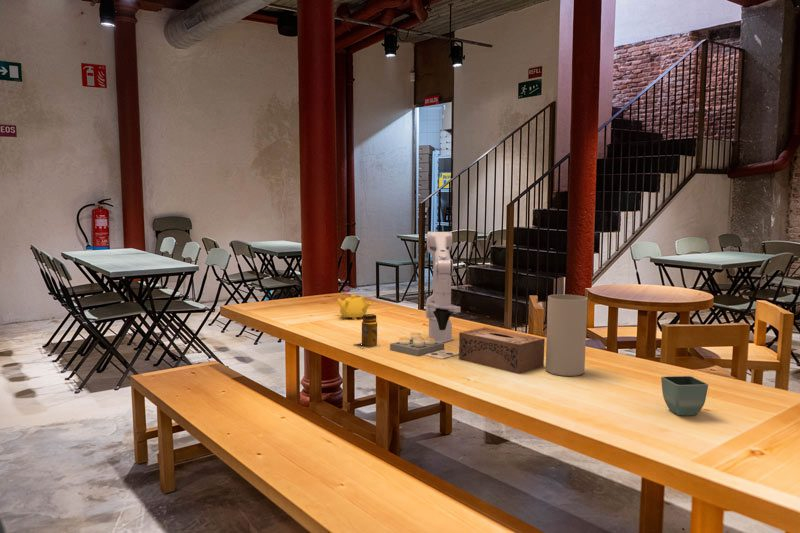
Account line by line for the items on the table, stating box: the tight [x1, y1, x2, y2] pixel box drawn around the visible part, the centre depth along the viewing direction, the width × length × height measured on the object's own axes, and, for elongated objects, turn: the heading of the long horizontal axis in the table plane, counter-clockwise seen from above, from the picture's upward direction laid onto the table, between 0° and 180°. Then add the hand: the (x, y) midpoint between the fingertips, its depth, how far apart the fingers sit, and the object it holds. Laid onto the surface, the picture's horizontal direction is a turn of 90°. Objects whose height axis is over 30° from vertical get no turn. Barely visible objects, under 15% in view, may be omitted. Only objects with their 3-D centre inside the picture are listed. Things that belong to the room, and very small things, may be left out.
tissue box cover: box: [458, 327, 545, 375], centre depth 221 cm, size 26×14×10 cm, turn 44°
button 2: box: [410, 332, 422, 342], centre depth 244 cm, size 4×4×3 cm
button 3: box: [413, 337, 425, 348], centre depth 235 cm, size 4×4×3 cm
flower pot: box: [660, 375, 709, 416], centre depth 169 cm, size 9×9×9 cm
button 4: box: [424, 337, 435, 346], centre depth 239 cm, size 4×4×3 cm
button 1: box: [398, 337, 411, 345], centre depth 239 cm, size 4×4×3 cm
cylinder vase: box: [545, 294, 588, 377], centre depth 209 cm, size 12×12×25 cm
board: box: [389, 338, 445, 357], centre depth 240 cm, size 15×14×2 cm
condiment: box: [353, 313, 382, 349], centre depth 245 cm, size 7×8×12 cm
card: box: [424, 349, 459, 360], centre depth 232 cm, size 10×8×1 cm
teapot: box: [336, 294, 372, 320], centre depth 304 cm, size 20×18×11 cm
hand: (442, 329), depth 231 cm, fingers closed
